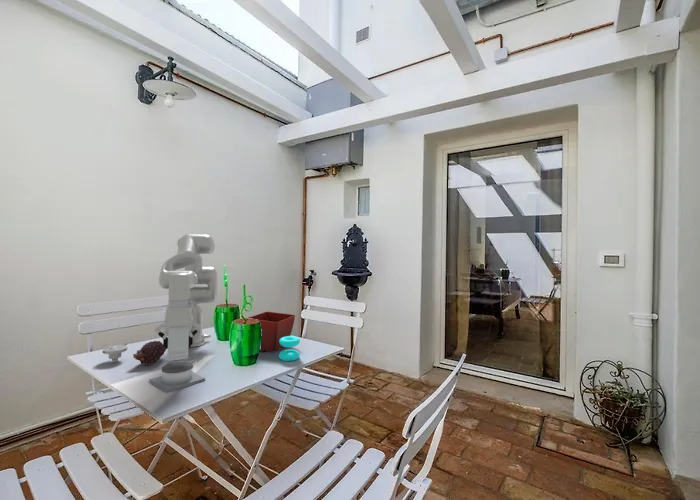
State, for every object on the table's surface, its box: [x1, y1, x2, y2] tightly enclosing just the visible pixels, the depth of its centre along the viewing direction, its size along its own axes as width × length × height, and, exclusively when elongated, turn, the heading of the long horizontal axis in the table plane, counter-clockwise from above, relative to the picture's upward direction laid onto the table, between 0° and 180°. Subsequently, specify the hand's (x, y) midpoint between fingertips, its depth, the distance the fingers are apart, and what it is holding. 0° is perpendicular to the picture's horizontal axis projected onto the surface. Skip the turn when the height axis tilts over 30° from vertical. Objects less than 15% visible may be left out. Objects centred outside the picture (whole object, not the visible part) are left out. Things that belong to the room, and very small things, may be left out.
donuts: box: [278, 335, 301, 362], centre depth 165 cm, size 10×10×10 cm
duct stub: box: [148, 360, 206, 394], centre depth 135 cm, size 15×15×6 cm
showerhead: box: [101, 342, 128, 363], centre depth 154 cm, size 9×7×10 cm
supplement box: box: [167, 327, 189, 362], centre depth 135 cm, size 7×7×13 cm
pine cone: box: [132, 340, 167, 366], centre depth 153 cm, size 18×10×10 cm, turn 169°
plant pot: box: [247, 311, 296, 353], centre depth 181 cm, size 19×19×17 cm
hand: (178, 347), depth 135 cm, fingers closed on supplement box, 7 cm apart
